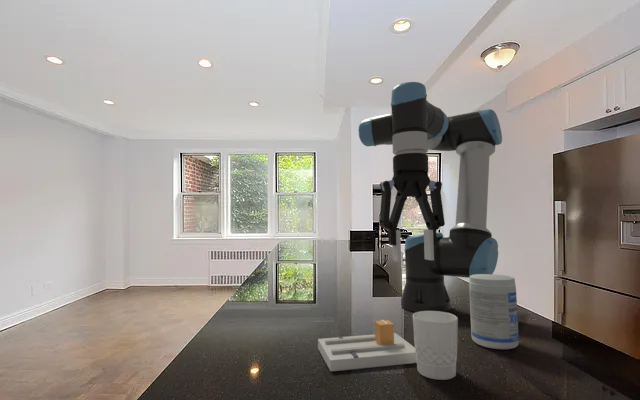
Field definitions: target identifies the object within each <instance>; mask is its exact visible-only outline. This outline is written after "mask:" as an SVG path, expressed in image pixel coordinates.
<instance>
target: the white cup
mask: <svg viewBox="0 0 640 400" xmlns="http://www.w3.org/2000/svg"><path fill="white" fill-rule="evenodd" d="M458 324H459V319H458V316H456V315H455V314H452V313H450V312H440V311H420V312H414V313H413V314H412V327H413V340H414V342H413V343H414V347H415V353H416V356H417V357H416V359H417V363H416V371H417V372H418V374H419V375H422V376H423V377H424V378H428V379H432V380H436V381H437V380H439V381H446V380H451V379H454V378H455V377H456V376H457V360H458V341H459V340H458V338H459V337H458V333H459V332H458V328H459V325H458Z"/></svg>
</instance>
